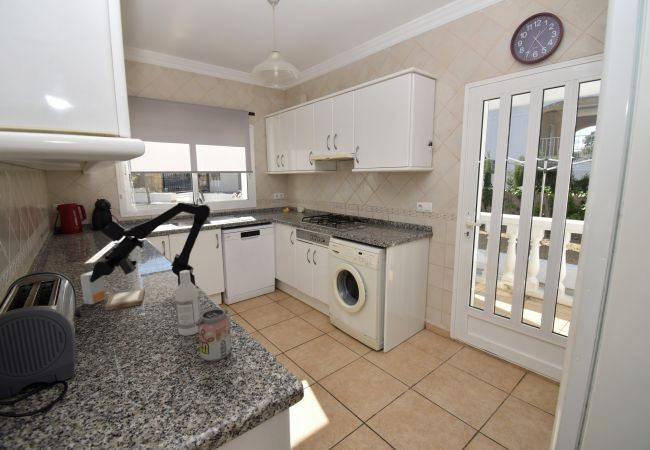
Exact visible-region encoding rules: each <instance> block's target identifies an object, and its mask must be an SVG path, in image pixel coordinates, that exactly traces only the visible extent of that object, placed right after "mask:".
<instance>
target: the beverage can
mask: <svg viewBox="0 0 650 450" xmlns="http://www.w3.org/2000/svg"><path fill="white" fill-rule="evenodd" d="M228 312H229V311H228V309H226V308H225V309H222V308H212V309H207V310H205V311H204V312H202V313H201V315H200V319H198V321H197V322H196V323H195V325H196V326H198V333H197V334H198V343H199V350H200V352H199V353H200V357H201V359H202V360H205V361H206V362H219V361H221V360H222V359H224V358H226V357H227V356H228V355H229V354H230V353H231V351H232V339H231V327H230V319H229V317H228V316H227V314H228Z"/></svg>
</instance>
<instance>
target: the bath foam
mask: <svg viewBox="0 0 650 450" xmlns="http://www.w3.org/2000/svg"><path fill="white" fill-rule="evenodd" d="M180 282H181V283H180V285H179V287H178V286H177V289H176V291H175V292H174V293H175V294H174V302H175V312H176V313H175V314H176V323H177V331H178V334H179V335H180V336H185V337H187V336H192V335H193V336H194V335H195V334H199V333H198V326H196V325H195V323H196V322H197V321H198V319H200V315H201V314H202V313H201V312H202V311H201V304H200V303H201V301H200V294H199V290H198V288H196V287H195V286H196V285H195V286H194V285H193V284H192V282H191V280H190V271H189V270H183V271H180Z"/></svg>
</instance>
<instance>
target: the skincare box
mask: <svg viewBox="0 0 650 450" xmlns="http://www.w3.org/2000/svg"><path fill="white" fill-rule="evenodd" d="M92 273H93V270H92V271H87V272H85V273H83V274H80V275H79V277H80V283H81V290H82V291H81V292H82V298H83V304H85V305H94V304H96V303H98V302H101V301H104V300H105V299H106V291H105V283H104V275H103V276H101V277H100V278H99V279H97V280H96V281H94V282H93V283H92V282H90V279H91V276H92Z"/></svg>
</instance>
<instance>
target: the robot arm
mask: <svg viewBox="0 0 650 450" xmlns="http://www.w3.org/2000/svg"><path fill="white" fill-rule="evenodd" d="M181 213H186V214H191V215H194V218H193V221H192V226H191V228H190V230H189V232H188V236H187V238H186V241H185V243H184V245H183V248H182V250H181V252H180V253H179V254H178V253H176V254H175V255H174V258H173V261H172V263H171V264H170V267H171V271H172V273H173V274H175V275H176V276H177V285H178V286H177V288H178V287H179V285H180V283H181V282H180V271H183V270H189V271H190V280H191V282H192V284H193V285H194V286H195V287H196V288H197V289H198V288H199V286H198V285H196V278H195V274H193V272H194V269H195V268H194V267H193V266H192V265H190V264H189V263H190V262H189V261H190V257H191V253H192V250H193V248H194V246H195V243H196V241H197V238H198V236H199V234H200V231H201V229H202V226H203V225H204V223H205V222H206V220H207V219H208V217H209V216H210V215H211V207H210V206H209V205H208V204H207V203H200V204H196V203H190V202H185V201H179V202H178V203H177V204H175V205H174V206H172V207H171V208H169V209H168V210H166V211H164V212H163V213H161V214H159V215H157V216H156V217H154V218H152V219H149V220H146V221H145V222H144V221H143V222H141V223H139V224H137V225H135V226H134V227H129V228H126V227H124V226H123V225H121V223H119V222H118V221H117V220H113V221H111V223H110V224H108V225H107V226H106V227H104V228H103V229H102V230H101V231H100V234H101V235H103V236H105V238H107V239H109V240H110V241H111V242H113V243H114V242H119V243H118V244H117V245H116V246H114V247H113V248H112V249H111V251H110V252H108V254H106V256H104V259H103V258H102V259H99V260H98V261H97V262H96V263H95V264H94V265H93V270H92V271H93V273H92V276H91V279H90V282H92V283H93V282H94V281H96V280H97V279H99V278H100V277H101V276H103V277H104V276H110V275H111V274H112V273H113V272H114V271H115V270H116V267H117V268H118V267H120V269H121V270H122V271H123V273H124V274H125V275H126V276H127V275H129V274H131V273H132V272H134V271H135V270H136V269H137V266H136V265H137V263H138V262H137V260H136V259H131V258H130V257H129V256H131V254H132V253H133V251H135V249H136V248H137V247H139V248H141V249H143V248H144V247H145V241H144V240H143V239H146V237H148V236H149V235H151V233H153V232H154V231H155V230H156V229H157V228H158V227H160V226H162V225H163V224H165V223H166V222H168V221H169V220H171V219H173V218H175V217H177V215H179V214H181Z"/></svg>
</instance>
